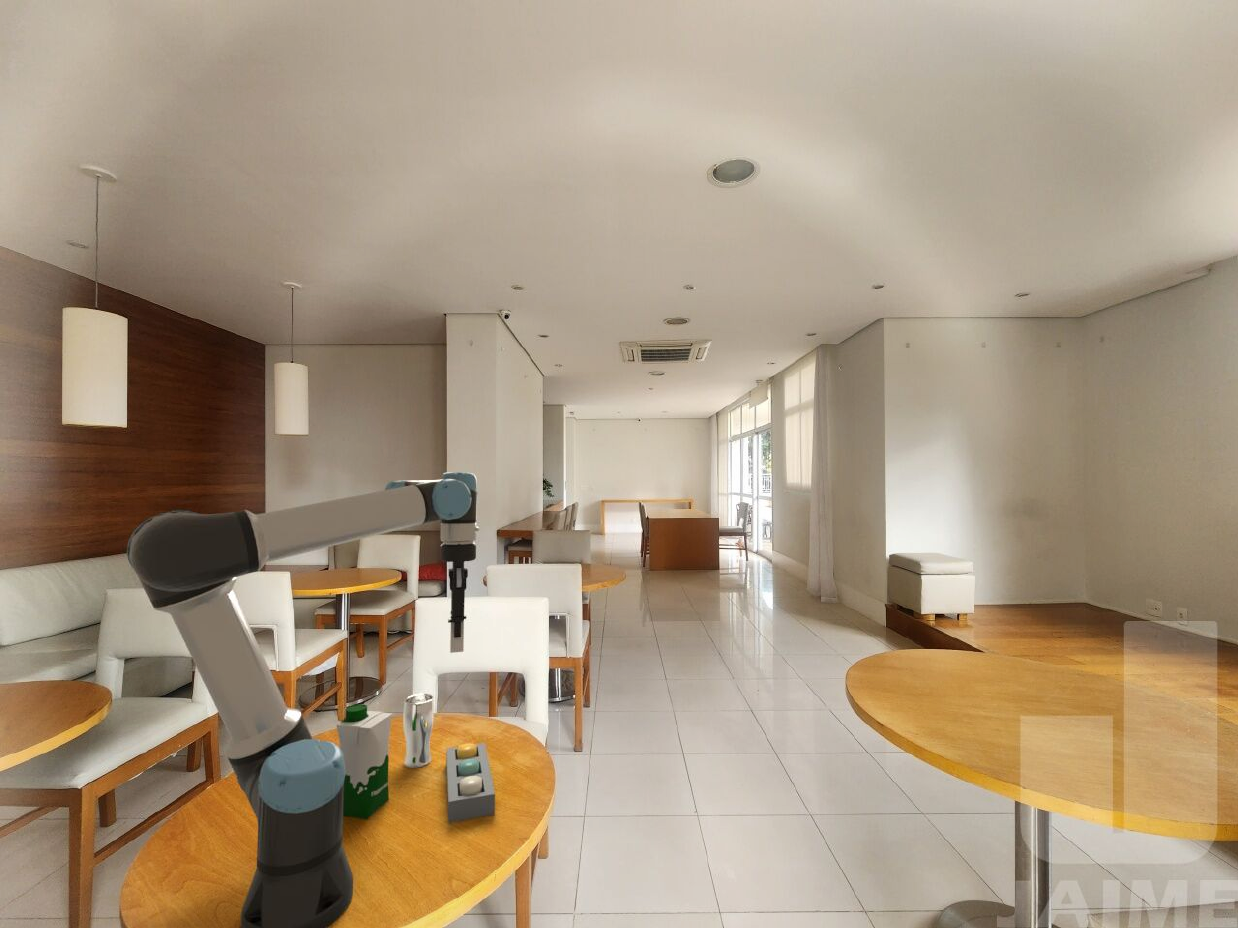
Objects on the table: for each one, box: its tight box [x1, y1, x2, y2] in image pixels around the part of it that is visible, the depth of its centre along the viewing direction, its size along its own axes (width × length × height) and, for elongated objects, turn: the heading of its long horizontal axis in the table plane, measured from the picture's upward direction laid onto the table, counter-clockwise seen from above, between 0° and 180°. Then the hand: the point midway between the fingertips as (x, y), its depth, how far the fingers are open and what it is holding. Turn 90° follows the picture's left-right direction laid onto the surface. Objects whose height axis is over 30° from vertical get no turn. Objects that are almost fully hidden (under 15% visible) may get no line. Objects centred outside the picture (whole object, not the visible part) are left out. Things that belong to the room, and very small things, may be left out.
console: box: [445, 742, 496, 824], centre depth 120 cm, size 24×9×4 cm, turn 18°
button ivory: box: [460, 776, 482, 796], centre depth 113 cm, size 4×4×3 cm
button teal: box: [458, 759, 479, 777], centre depth 120 cm, size 4×4×3 cm
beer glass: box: [402, 693, 435, 769], centre depth 132 cm, size 7×7×15 cm
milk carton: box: [336, 703, 393, 820], centre depth 113 cm, size 9×9×20 cm
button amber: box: [457, 742, 477, 759], centre depth 128 cm, size 4×4×3 cm
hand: (456, 651), depth 119 cm, fingers closed
